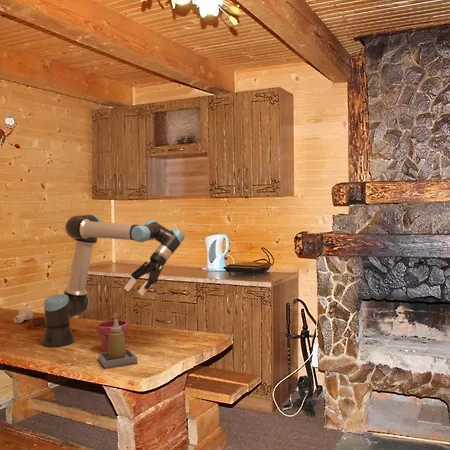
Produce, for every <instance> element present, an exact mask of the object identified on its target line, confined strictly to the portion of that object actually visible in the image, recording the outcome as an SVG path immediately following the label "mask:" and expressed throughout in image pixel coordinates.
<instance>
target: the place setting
mask: <svg viewBox="0 0 450 450" xmlns="http://www.w3.org/2000/svg"><path fill="white" fill-rule="evenodd" d="M44 323H45V316H42V317H41V316H38V317H34V318H33V317H32V318H31V323H28V324H27V328H29V327H33V328H32V329H34V328H35V329H37V328H36V327H44V326H45V324H44ZM30 324H33V325H32V326H28V325H30ZM41 325H43V326H41ZM44 328H45V327H44Z"/></svg>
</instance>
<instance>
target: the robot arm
mask: <svg viewBox="0 0 450 450" xmlns="http://www.w3.org/2000/svg"><path fill="white" fill-rule="evenodd" d="M64 227H65V233H66V235H67V236H69V237H70V238H72V239H73V240H74V242H75V247H74V253H73V259H72V264H71V269H70V274H69V275H70V276H69V282H68V286H67V287H66V288H65V289H64V290H63V292H64V293H62V294H61V293H60V294H55V295H54V294H53V295H50V296H48V297H46V299H44V305H43V310H44V318H45V324H44V325H45V327H44V329H45V330H44V334H43V337H42V340H41V341H42V343H41V344H42V346H43V347H47V348H48V347H49V348H57V347H58V348H59V347H64V346H68V345H71V344H73V343H75V337H74V334H73V331H72V329H71V328H72V327H71V321H70V319H72V318H74V317H76V316H80V315H83V314H84V313H85V312H86V311H88V310H89V307H90V303H91V302H90V301H91V300H90V298H89V295H88V291H87V290H86V285H87V281H88V276H89V270H90V263H91V258H92V254H93V253H92V252H93V249H94V247H93V246H94V245H96V244H97V242H98V238H99V239H110V240H112V239H114V240H125V241H126V240H127V241H134V242H138V243H143V242H147V241H152V240H155V241H156V242H158V243H160V244H159V245H158V247H157V248H156V249H155V250H154V252H153V253H152V254H151V256H150V257H149V262H148V261H145V262H143V264H142V265H140V267H138V268H137V269H136V270H135V271H133V272H132V273H131V274H130V276H131V278H130V279H129V280H128V282H127V283H126V284H125V286H123V289H124V290H126V292H129V291H130V290H131V289H132V288H133V287H134V285H135V284H136V282H138V279H140V278H141V277H143V276H144V275H145V274H148V279H147V280H146V281H144V283H143V284H142V286H141V287H140V288H139V290H138V291H137V293H138V294H139V295H140V296H141V297H143V296H144V295H145V293H146V292H147V291H148V289H149V288H150V287H151V285H155V284H157V282H158V280H159V277H160V275H161V272H162V271H163V269H164V266H165V264H166V263H167V261H169V259H171V256H172V255H173V254H174V253H175V252H176V251H177V249H178V248H179V246H180V245H181V244H182V243H183V241H184V240H185V235H184V233H183V231H181V230H180V229H178V228H176V227H173V228H172V229H171V230H170V229H168V228H166V227H165V226H163V225H161V223H158V221H155V220H153V219H149V220H148V221H146V222H145V223H144V224H133V223H118V222H106V221H105V222H103V221H102V220H101V218H100V217H99V216H97V215H96V214H81V215H73V216H70V217H69V218H68V219H67V220H66V223H65V226H64Z"/></svg>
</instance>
